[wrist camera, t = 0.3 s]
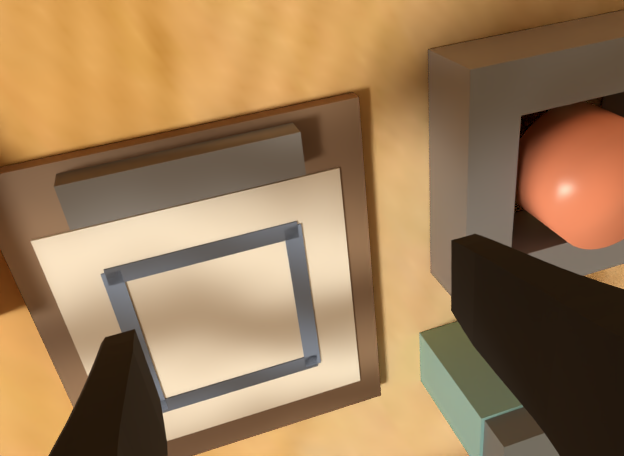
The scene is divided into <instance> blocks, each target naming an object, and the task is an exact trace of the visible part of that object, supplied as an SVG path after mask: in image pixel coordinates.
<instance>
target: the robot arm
mask: <svg viewBox="0 0 624 456" xmlns="http://www.w3.org/2000/svg"><path fill="white" fill-rule="evenodd" d="M451 311H452V312H453V314H454V316H455V317H456V319H457V321H458V322H459V324H460V326H461V327H462V329H463V331H464V332H465V334H466V335H467V337H468V338H469V340H470V342H471V343H472V345H473V346H474V347H475V349H476V350H477V351H478V352H479V354H480V355H481V356H482V357H483V358H484V360H485V361H486V362H487V363H488V365H489V366H490V367H491V368H492V369H493V371H494V372H495V373H496V374H497V375H498V377H499V378H500V379H501V380H502V381H503V383H504V384H505V385H506V386H507V387H508V389H509V390H510V391H511V392H512V393H513V395H514V396H515V397H516V398H517V399H518V401H519V402H520V403H521V404H522V405H523V407H524V408H525V409H526V410H527V411H528V413H529V414H530V415H531V416H532V417H533V419H534V420H535V421H536V423H537V424H538V425H539V427H540V428H541V429H542V430H543V432H544V433H545V435H546V436H547V437H548V439H549V440H550V442H551V443H552V445H553V446H554V448H555V449H556V451H557V452H558V454H559V455H560V456H624V289H621V288H618V287H614V286H611V285H608V284H605V283H602V282H599V281H596V280H593V279H591V278H588V277H585V276H582V275H579V274H576V273H574V272H571V271H568V270H566V269H563V268H560V267H558V266H555V265H553V264H550V263H548V262H545V261H543V260H540V259H538V258H535V257H533V256H531V255H528V254H526V253H523V252H521V251H519V250H516V249H514V248H511V247H509V246H507V245H504V244H502V243H499V242H497V241H494V240H492V239H489V238H486V237H484V236H481V235H478V234H472V235H469V236H465V237H461V238H458V239H454V240H451ZM49 456H168V450H167V438H166V432H165V425H164V419H163V413H162V407H161V401H160V397H159V394H158V392H157V389H156V386H155V383H154V380H153V378H152V375H151V372H150V369H149V367H148V364H147V361H146V358H145V355H144V353H143V350H142V347H141V344H140V341H139V339H138V336H137V333H136V330H135V329H133V330H129V331H126V332H122V333H119V334H115V335H112V336H108V337H105V338H104V340H103V341H102V343H101V345H100V348H99V350H98V353H97V356H96V358H95V361H94V363H93V366H92V368H91V371H90V373H89V375H88V378H87V380H86V382H85V385H84V387H83V389H82V391H81V393H80V396H79V398H78V400H77V402H76V404H75V406H74V408H73V410H72V412H71V415H70V417H69V419H68V421H67V423H66V425H65V426H64V428H63V430H62V432H61V434H60V436H59V437H58V439H57V441H56V443H55V445H54V447H53V448H52V450H51V452H50V454H49Z"/></svg>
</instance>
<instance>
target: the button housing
mask: <svg viewBox="0 0 624 456" xmlns="http://www.w3.org/2000/svg"><path fill="white" fill-rule="evenodd" d="M428 82H429V169H430V257H431V273H432V275H433V276H434V277H435V278H436V279H437V280H438V282H439V283H440V284H441V285H442V286H443V287H444V288H445V290H446V291H447V292H448V293H449V294H450V295H451V240H454V239H458V238H461V237H465V236H469V235H472V234H478V235H481V236H484V237H486V238H489V239H492V240H494V241H497V242H499V243H502V244H504V245H507V246H509V247H511V248H514V249H516V250H519V251H521V252H523V253H526V254H528V255H531V256H533V257H535V258H538V259H540V260H543V261H545V262H548V263H550V264H553V265H555V266H558V267H560V268H563V269H566V270H568V271H571V272H574V273H576V274H579V275H582V276H584V275H587V274H591V273H594V272H597V271H601V270H604V269H607V268H611V267H614V266H617V265H621V264H624V239H623V240H621V241H620V242H617V243H615V244H613V245H611V246H608V247H604V248H600V249H592V250H590V249H581V248H578V247H575V246H573V245H571V244H570V243H568V242H567V241H566V240H564V239H563V238H562V237H560V236H559V235H558V234H556V233H555V232H554V231H552V230H551V229H550V228H548V227H547V226H546V225H544V224H543V223H542V222H540V221H539V220H538V219H536V218H535V217H534V216H532V215H531V214H530V213H528V212H527V211H526V210H521V211H518V212H514V205H515V191H516V177H517V164H518V150H519V136H520V123H521V116H522V115H526V114H531V113H535V112H539V111H543V110H548V109H552V108H556V107H560V106H565V105H569V104H573V103H578V102H582V101H586V100H590V99H595V98H599V97H603V100H602V107H601V108H603V109H605V110H608V111H610V112H612V113H615V114H617V115H619V116H622V117H624V10H621V11H616V12H611V13H606V14H601V15H596V16H591V17H586V18H581V19H576V20H571V21H566V22H561V23H556V24H551V25H546V26H542V27H537V28H532V29H527V30H522V31H517V32H512V33H507V34H502V35H497V36H492V37H487V38H482V39H477V40H472V41H467V42H462V43H457V44H453V45H448V46H443V47H438V48H433V49H428Z"/></svg>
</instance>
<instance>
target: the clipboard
mask: <svg viewBox="0 0 624 456" xmlns="http://www.w3.org/2000/svg"><path fill="white" fill-rule="evenodd" d="M0 249H1V251H2V254H3V256H4V258H5V260H6V262H7V264H8V267H9V269H10V271H11V273H12V275H13V277H14V280H15V282H16V284H17V286H18V288H19V290H20V293H21V295H22V297H23V299H24V301H25V303H26V306H27V308H28V310H29V312H30V314H31V316H32V319H33V321H34V323H35V325H36V327H37V330H38V332H39V334H40V336H41V338H42V340H43V343H44V345H45V347H46V349H47V351H48V353H49V356H50V358H51V360H52V362H53V364H54V366H55V369H56V371H57V373H58V375H59V377H60V379H61V382H62V384H63V386H64V388H65V390H66V392H67V395H68V397H69V399H70V401H71V403H72V405H73V408H74V406H75V404H76V402H77V400H78V398H79V396H80V393H81V391H82V389H83V387H84V385H85V382H86V380H87V378H88V375H89V373H90V371H91V368H92V366H93V363H94V361H95V358H96V356H97V353H98V350H99V348H100V345H101V343H102V341H103V340H104V338H105V337H108V336H112V335H115V334H119V333H122V332H126V331H129V330H133V329H135V330H136V333H137V336H138V339H139V341H140V344H141V347H142V350H143V353H144V355H145V358H146V361H147V364H148V367H149V369H150V372H151V375H152V378H153V380H154V383H155V386H156V389H157V392H158V394H159V397H160V401H161V407H162V413H163V419H164V425H165V432H166V438H167V450H168V456H193V455H197V454H200V453H203V452H206V451H209V450H212V449H215V448H218V447H221V446H225V445H228V444H231V443H234V442H237V441H240V440H243V439H246V438H250V437H253V436H256V435H259V434H262V433H265V432H268V431H271V430H275V429H278V428H281V427H284V426H287V425H290V424H293V423H296V422H299V421H303V420H306V419H309V418H312V417H315V416H318V415H321V414H324V413H328V412H331V411H334V410H337V409H340V408H343V407H346V406H349V405H353V404H356V403H359V402H362V401H365V400H368V399H371V398H374V397H377V396H381V388H380V375H379V361H378V348H377V335H376V321H375V308H374V294H373V281H372V267H371V254H370V241H369V227H368V214H367V200H366V187H365V173H364V160H363V147H362V133H361V120H360V106H359V97H358V96H357V95H356V94H354V93H348V94H343V95H338V96H334V97H329V98H324V99H320V100H315V101H310V102H305V103H301V104H296V105H291V106H287V107H282V108H277V109H272V110H268V111H263V112H258V113H254V114H249V115H244V116H239V117H235V118H230V119H225V120H221V121H216V122H211V123H206V124H202V125H197V126H192V127H188V128H183V129H178V130H173V131H169V132H164V133H159V134H154V135H150V136H145V137H140V138H136V139H131V140H126V141H121V142H117V143H112V144H107V145H103V146H98V147H93V148H88V149H84V150H79V151H74V152H70V153H65V154H60V155H55V156H51V157H46V158H41V159H37V160H32V161H27V162H22V163H18V164H13V165H8V166H4V167H0Z"/></svg>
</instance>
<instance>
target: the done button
mask: <svg viewBox="0 0 624 456" xmlns="http://www.w3.org/2000/svg"><path fill="white" fill-rule="evenodd" d="M515 201H516V202H517V204H518V205H519V206H521V207H522V208H523V209H524V210H526V211H527V212H528V213H530V214H531V215H532V216H534V217H535V218H536V219H538V220H539V221H540V222H542V223H543V224H544V225H546V226H547V227H548V228H550V229H551V230H552V231H554V232H555V233H556V234H558V235H559V236H560V237H562V238H563V239H564V240H566V241H567V242H568V243H570V244H571V245H573V246H575V247H578V248H581V249H590V250H592V249H600V248H604V247H608V246H611V245H613V244H615V243H617V242H620V241H621V240H623V239H624V117H622V116H619V115H617V114H615V113H612V112H610V111H608V110H605V109H603V108H601V107H598V106H596V105H593V104H591V103H587V102H578V103H573V104H569V105H565V106H560V107H556V108H553V109H552V110H550V111H548V112H547V113H545V114H544V115H542V116H541V117H540V118H539V119H537V120H536V121H535V122H534V123H533V124H532V125H531V126H530V127H529V128H528V130H527V131H526V132H525V133H524V135H523V136H522V138H521V139H520V141H519V150H518V164H517V177H516V191H515Z"/></svg>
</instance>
